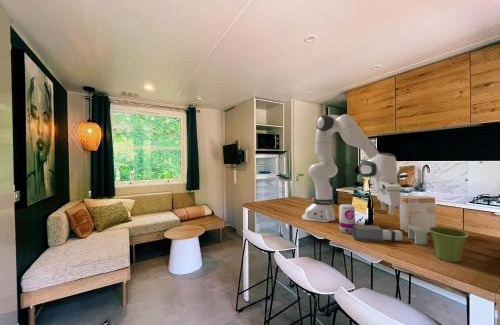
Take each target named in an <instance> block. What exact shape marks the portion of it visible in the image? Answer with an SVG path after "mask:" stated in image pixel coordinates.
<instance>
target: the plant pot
mask: <svg viewBox="0 0 500 325" xmlns="http://www.w3.org/2000/svg"><path fill="white" fill-rule="evenodd" d="M429 230H430V231H431V233H430V235H431V236H432V242H433V246H434V251H435V252H434V253H435V256H436V257H437V258H438V259H441V260H443V261H446V262H450V263H458V262H460V261H461V259H462V258H461V257H462V254H463V250H464V245H465V243H466V241H467V238H468V237H469V234H468V233H467V232H465V231H463V230H459V229H455V228H452V227H451V228H450V227H444V226H443V227H442V226H436V227H430V228H429Z"/></svg>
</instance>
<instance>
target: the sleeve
mask: <svg viewBox="0 0 500 325" xmlns="http://www.w3.org/2000/svg"><path fill="white" fill-rule="evenodd" d="M382 229H383V228H381V227H380V226H379V225H367V224H366V225H365V224H364V225H363V224H355V225H352V233H351V237H352V238H353V240H354V241H362V242H364V241H365V242H380V243H381V242H384V240H383V230H384V229H383V230H382Z"/></svg>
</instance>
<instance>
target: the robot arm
mask: <svg viewBox="0 0 500 325" xmlns="http://www.w3.org/2000/svg"><path fill="white" fill-rule="evenodd" d="M315 126H316V128H317V129H316V131H315V136H314V156H316V157H317V159H318V163H314V164H312V165H310V166H309V167H308V171H307V172H308V175H309V176H310V178H311V179H312V181H313V184H314V188H315V197H312V198H311V200H312V203H311V204H309V206H307V207H306V208H305V211H304V213H303V214H302V215H301V219H302V220H303V221H310V222H321V223H329V222H333V221H335V220H336V216H335V212H334V198H333V187H332V185H331V184H330V182H329V179H331V178H334V177H335V176H336V175H337V174H338V171H339V169H338V166H337V165H336V164H335V160H334V157H333V150H332V149H333V148H332V146H333V142H332V141H333V139H332V136H333V134H335V135H337V134H339V135H340V137H341V139H342V140H343V142H345V144H346V145H349V146H352V147H355V148H358V149H359V150H362V151H363V152H364V153H365V154H366V156H367V157H368V159H366V160H362V161H361V162H360V164H359V165H358V172H359V174H360V175H361V176H362V177H364V178H376V198H377V200H378V201H380V205H381V210H383V211H387V205H388V206H389V207H388V208H389V210H388V214H389V215H395V210H396V208H397V207H399V208H400V196H401V191H402V186H401V185H400V184H399V182H398V177H397V171H398V165H397V164H398V163H397V158H396V156H395V155H394V154H392V153H388V152H380V150H378V148H377V147H376V145H375V144H374V142H372V140H370V138H369V137H368V136H367V135H366V134H365V133H364V132H363V130H362V129H361V128H360V126H359V125H358V123H357V122H356V120H355V119H354V118H353V117H352V116H351V115H350V114H346V113H344V114H341V115H336V114H329V115H328V114H321V115H320V116H318V117H317V119H316V123H315Z"/></svg>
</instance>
